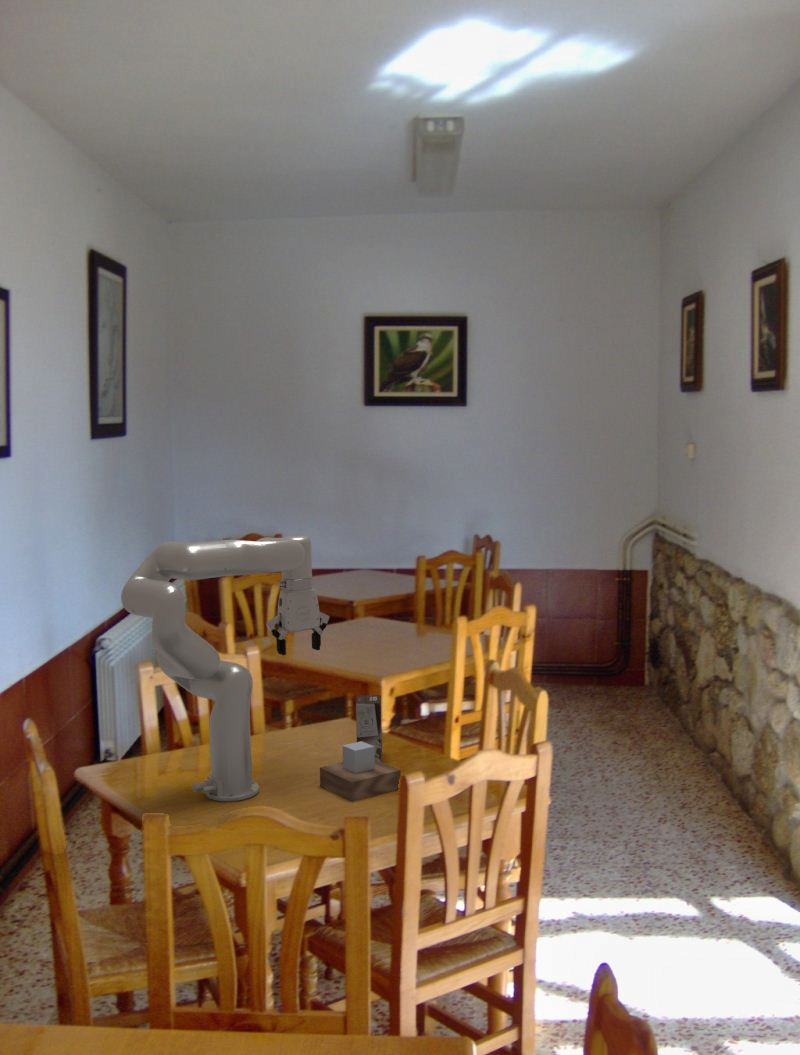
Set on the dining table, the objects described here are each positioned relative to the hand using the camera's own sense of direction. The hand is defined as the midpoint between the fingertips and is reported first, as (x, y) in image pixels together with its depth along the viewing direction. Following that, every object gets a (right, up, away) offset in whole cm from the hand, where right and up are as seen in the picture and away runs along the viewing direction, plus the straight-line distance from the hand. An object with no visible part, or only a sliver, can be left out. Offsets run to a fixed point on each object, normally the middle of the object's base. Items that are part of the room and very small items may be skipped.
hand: (299, 651), depth 269 cm
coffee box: (+18, -29, +9) cm, 35 cm away
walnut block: (+16, -32, -13) cm, 38 cm away
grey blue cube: (+16, -27, -13) cm, 33 cm away
